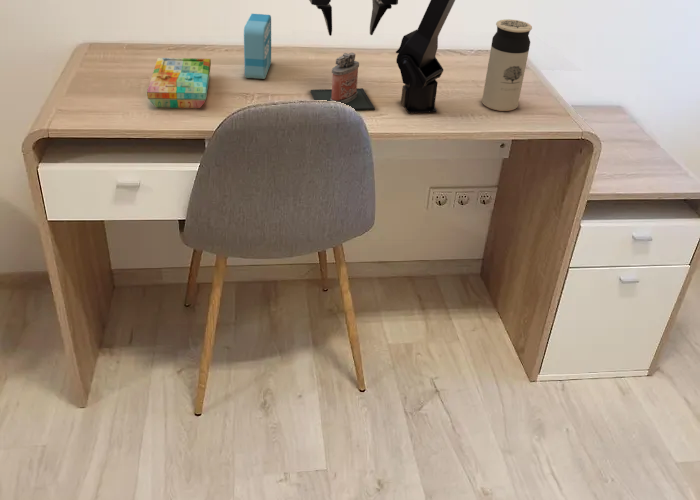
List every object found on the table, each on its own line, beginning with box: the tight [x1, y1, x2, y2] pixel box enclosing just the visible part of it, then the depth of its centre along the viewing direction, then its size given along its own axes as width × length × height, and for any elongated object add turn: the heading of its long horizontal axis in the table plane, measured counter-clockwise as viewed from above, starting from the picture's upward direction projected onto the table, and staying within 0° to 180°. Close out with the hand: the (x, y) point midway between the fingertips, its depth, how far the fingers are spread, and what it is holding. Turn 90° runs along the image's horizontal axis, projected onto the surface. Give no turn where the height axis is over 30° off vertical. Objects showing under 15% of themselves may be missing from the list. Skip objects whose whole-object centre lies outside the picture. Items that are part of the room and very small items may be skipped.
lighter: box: [330, 52, 360, 104], centre depth 160 cm, size 8×3×10 cm, turn 145°
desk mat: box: [310, 87, 376, 112], centre depth 163 cm, size 12×11×1 cm
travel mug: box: [481, 18, 533, 112], centre depth 162 cm, size 8×8×18 cm
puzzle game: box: [146, 57, 212, 109], centre depth 161 cm, size 12×5×20 cm
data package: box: [243, 13, 272, 80], centre depth 172 cm, size 12×4×12 cm, turn 177°
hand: (350, 34), depth 163 cm, fingers open, 9 cm apart
